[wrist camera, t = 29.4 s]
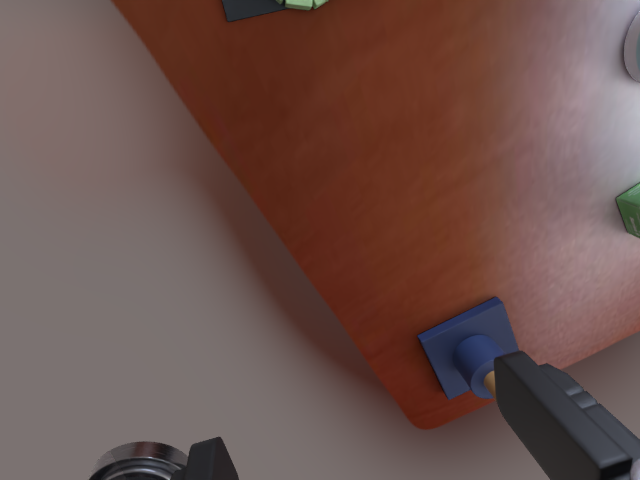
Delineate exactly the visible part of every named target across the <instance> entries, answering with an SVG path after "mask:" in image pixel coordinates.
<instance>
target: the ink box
mask: <svg viewBox="0 0 640 480" xmlns="http://www.w3.org/2000/svg"><path fill="white" fill-rule="evenodd" d="M616 201H617V204H618V207H619V209H620V212H621V215H622V218H623V221H624V223H625V226H626V229H627V231H628V233H629V234H632V235H634V236H636V237H638V238H640V183H639V184H638V185H636V186H634V187H633V188H631V189H630V190H628V191H627V192H625V193H623V194H622V195H620V196H619V197H617V198H616Z"/></svg>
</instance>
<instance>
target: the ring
mask: <svg viewBox="0 0 640 480" xmlns="http://www.w3.org/2000/svg"><path fill="white" fill-rule="evenodd" d="M276 1H277V2H278V3H279V4H281V3H282V2H283V1H284V0H276ZM327 1H328V0H285V7H288V8H295V9H302V10H310V9H311V7H312V6H313V8H314V9H316V8H318V7H319V6H321V5H322V4H324V3H325V2H327Z"/></svg>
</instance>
